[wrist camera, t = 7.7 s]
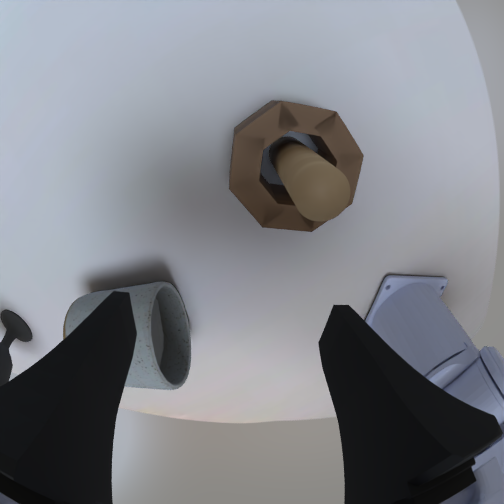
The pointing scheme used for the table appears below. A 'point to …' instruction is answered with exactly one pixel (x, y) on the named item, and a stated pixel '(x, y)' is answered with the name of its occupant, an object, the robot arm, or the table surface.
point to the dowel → (310, 180)
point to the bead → (268, 131)
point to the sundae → (17, 329)
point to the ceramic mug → (148, 333)
